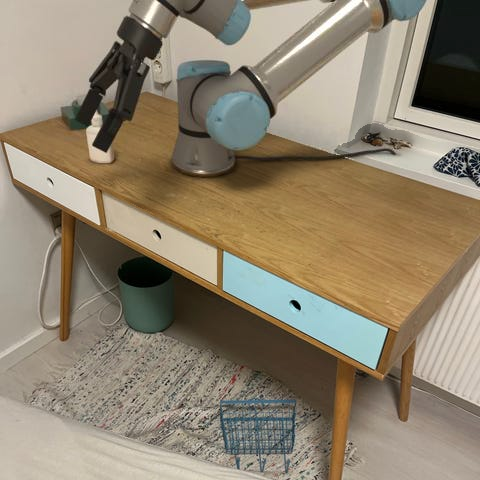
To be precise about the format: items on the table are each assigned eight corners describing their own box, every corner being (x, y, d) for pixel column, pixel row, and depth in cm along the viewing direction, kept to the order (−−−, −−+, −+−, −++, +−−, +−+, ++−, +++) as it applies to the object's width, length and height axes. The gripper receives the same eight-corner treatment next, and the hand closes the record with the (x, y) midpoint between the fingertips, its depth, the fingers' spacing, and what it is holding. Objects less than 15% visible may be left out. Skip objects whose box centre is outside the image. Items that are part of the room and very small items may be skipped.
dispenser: (103, 112, 147) (101, 94, 144) (114, 124, 141) (112, 106, 138) (62, 117, 143) (59, 99, 139) (71, 130, 136) (67, 111, 133)
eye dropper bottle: (102, 166, 120) (95, 115, 112) (87, 159, 123) (79, 108, 115) (116, 161, 123) (111, 110, 115) (102, 154, 125) (95, 104, 117)
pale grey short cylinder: (91, 101, 141) (90, 93, 140) (95, 106, 138) (94, 98, 137) (75, 102, 139) (74, 95, 138) (79, 107, 136) (78, 100, 135)
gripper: (107, 0, 93) (57, 104, 100) (151, 29, 77) (87, 151, 83) (141, 25, 98) (91, 122, 105) (189, 58, 82) (126, 170, 89)
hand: (89, 135), depth 94 cm, fingers open, 13 cm apart
